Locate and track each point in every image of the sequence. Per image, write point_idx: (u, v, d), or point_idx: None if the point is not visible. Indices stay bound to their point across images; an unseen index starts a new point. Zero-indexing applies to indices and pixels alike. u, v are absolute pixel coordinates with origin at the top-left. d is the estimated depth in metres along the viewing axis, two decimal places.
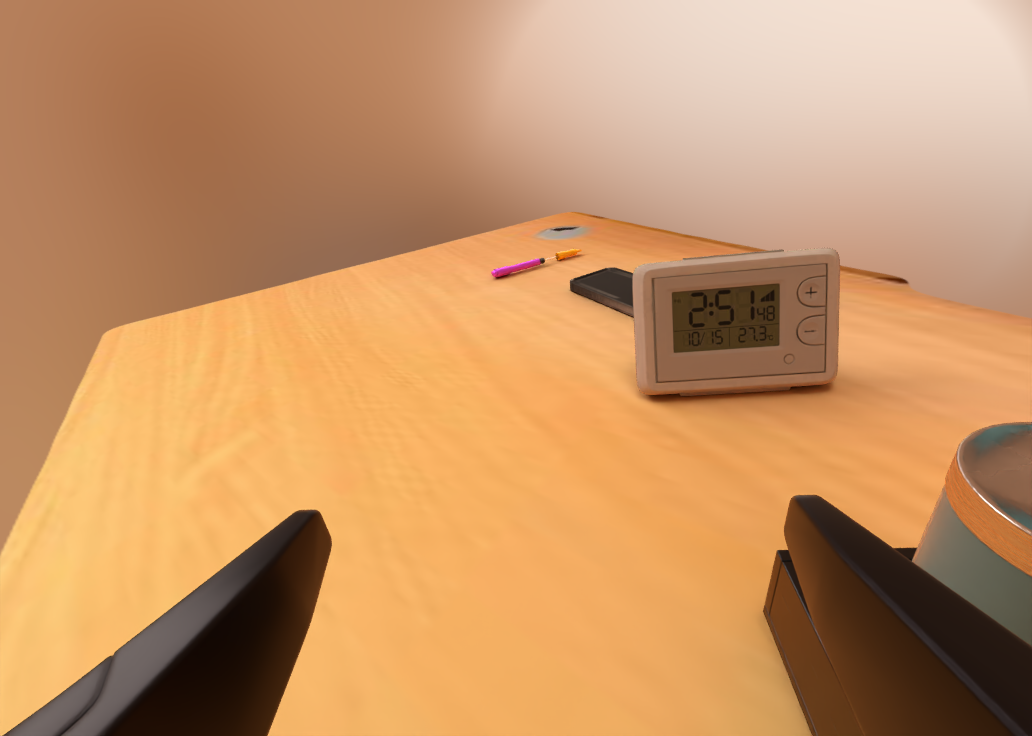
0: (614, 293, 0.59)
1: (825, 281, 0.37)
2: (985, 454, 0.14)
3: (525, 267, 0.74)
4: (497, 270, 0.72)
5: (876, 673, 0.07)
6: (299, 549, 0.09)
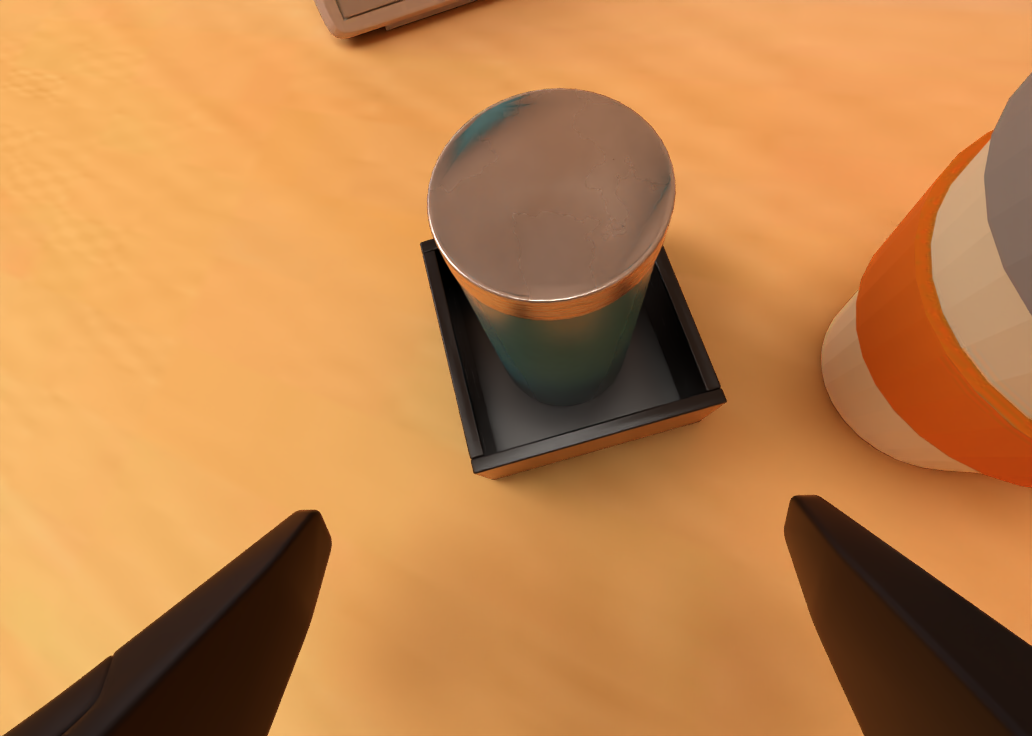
0: None
1: None
2: (460, 157, 0.13)
3: None
4: None
5: (876, 673, 0.07)
6: (299, 549, 0.09)
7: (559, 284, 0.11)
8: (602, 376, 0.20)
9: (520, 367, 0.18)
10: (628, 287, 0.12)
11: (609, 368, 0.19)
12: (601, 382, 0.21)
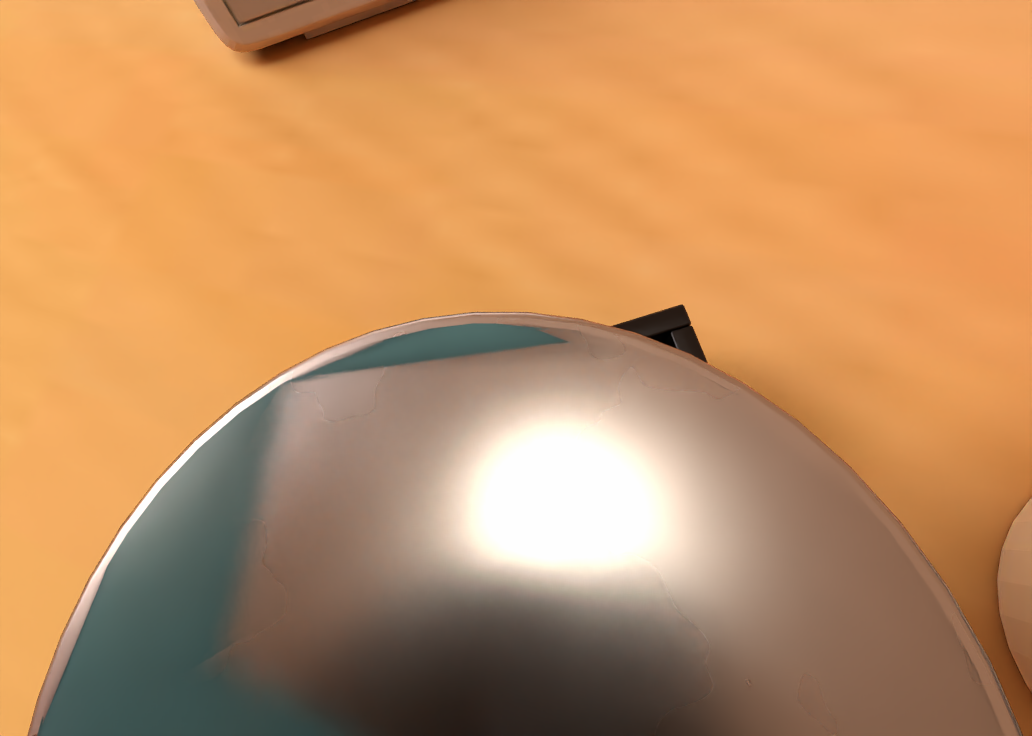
0: None
1: None
2: (160, 588, 0.03)
3: None
4: None
5: None
6: None
7: None
8: None
9: None
10: None
11: None
12: None
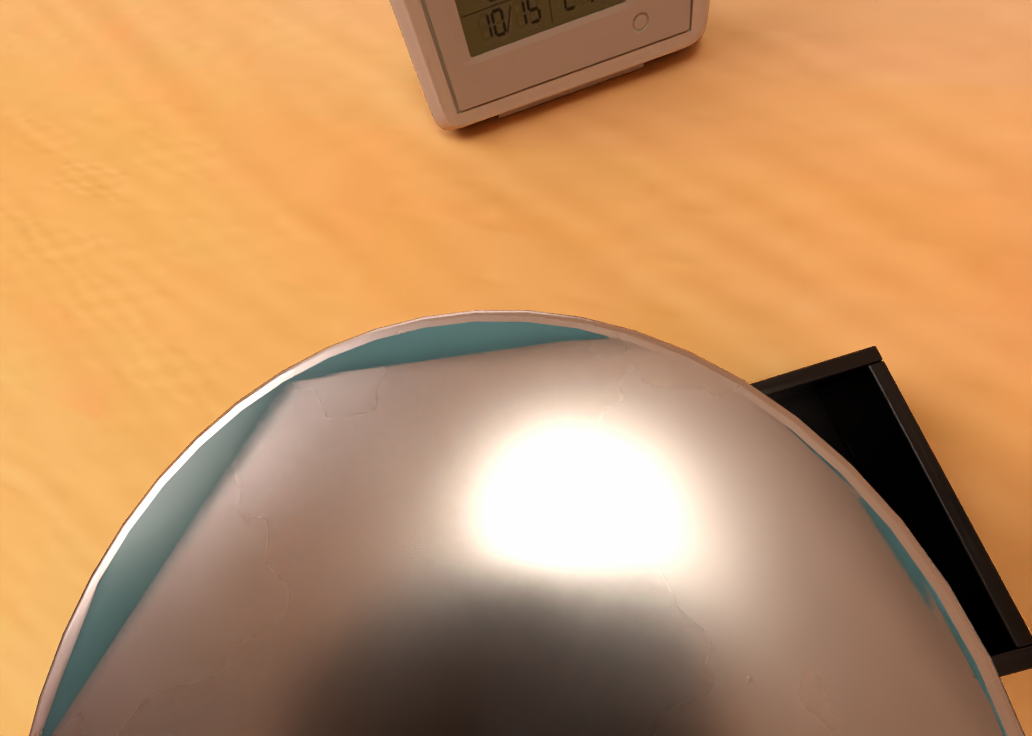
0: None
1: None
2: (162, 586, 0.03)
3: None
4: None
5: None
6: None
7: None
8: None
9: None
10: None
11: None
12: None
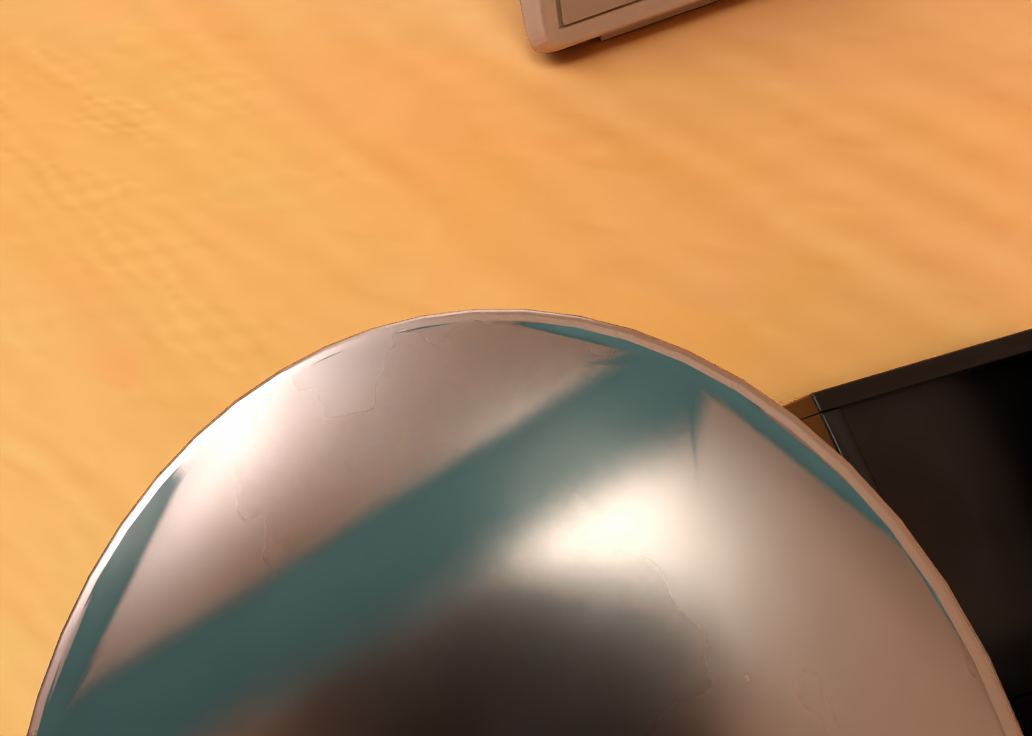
0: None
1: None
2: (160, 584, 0.03)
3: None
4: None
5: None
6: None
7: None
8: None
9: None
10: None
11: None
12: None
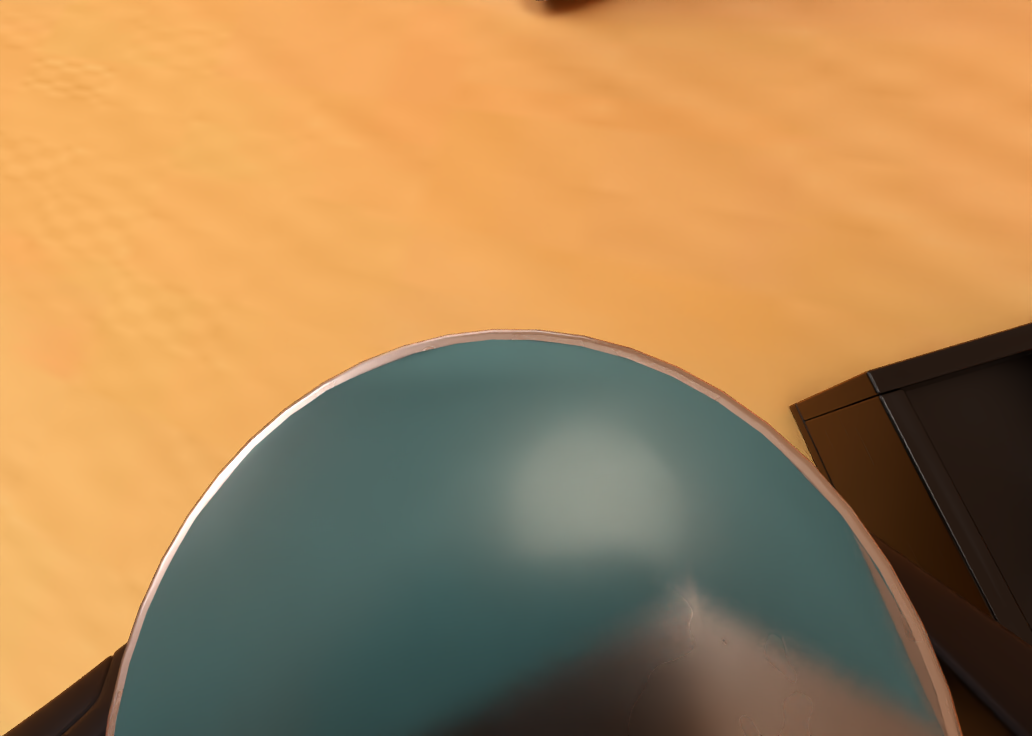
0: None
1: None
2: (224, 566, 0.04)
3: None
4: None
5: None
6: None
7: None
8: None
9: None
10: None
11: None
12: None
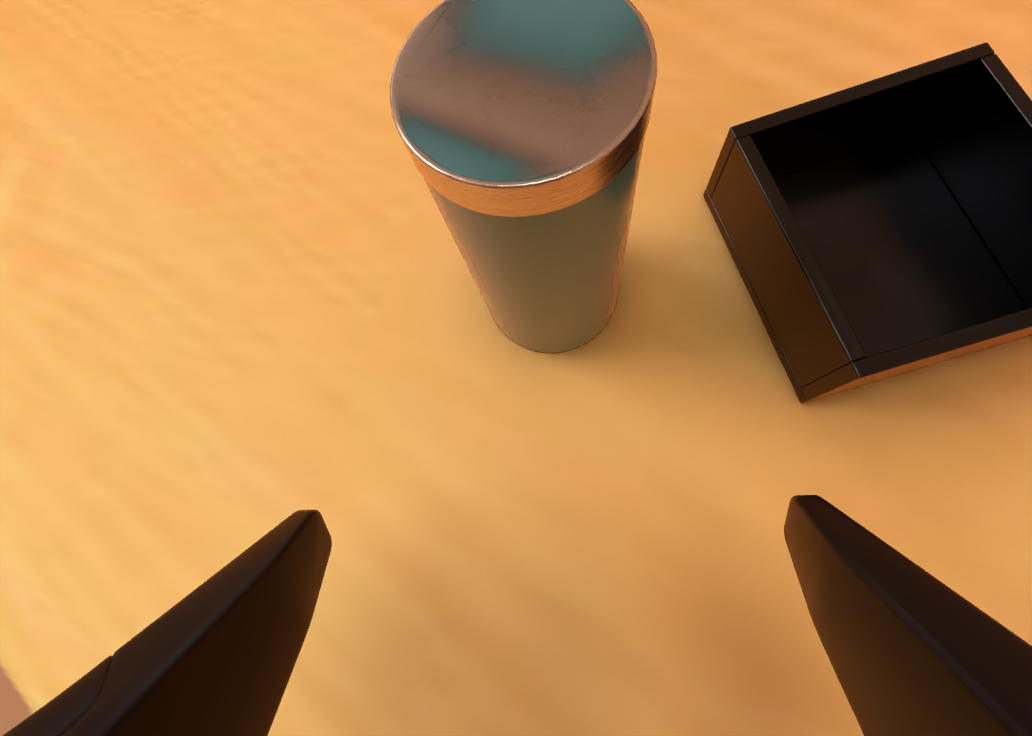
0: None
1: None
2: (425, 44, 0.12)
3: None
4: None
5: (876, 673, 0.07)
6: (299, 549, 0.09)
7: (532, 166, 0.11)
8: (591, 312, 0.19)
9: (503, 299, 0.17)
10: (608, 175, 0.11)
11: (598, 302, 0.18)
12: (590, 321, 0.20)
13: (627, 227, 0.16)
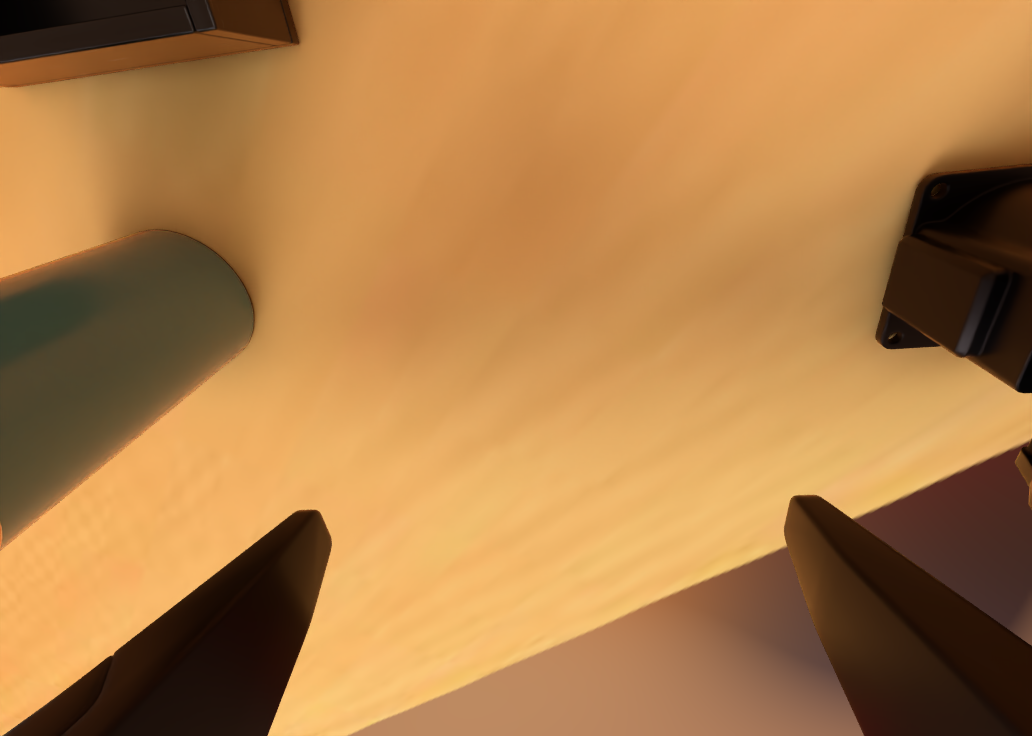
0: None
1: None
2: None
3: None
4: None
5: (876, 673, 0.07)
6: (299, 549, 0.09)
7: None
8: (181, 306, 0.17)
9: (161, 412, 0.17)
10: None
11: (164, 304, 0.17)
12: (198, 296, 0.18)
13: (32, 311, 0.13)
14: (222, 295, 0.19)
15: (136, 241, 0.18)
